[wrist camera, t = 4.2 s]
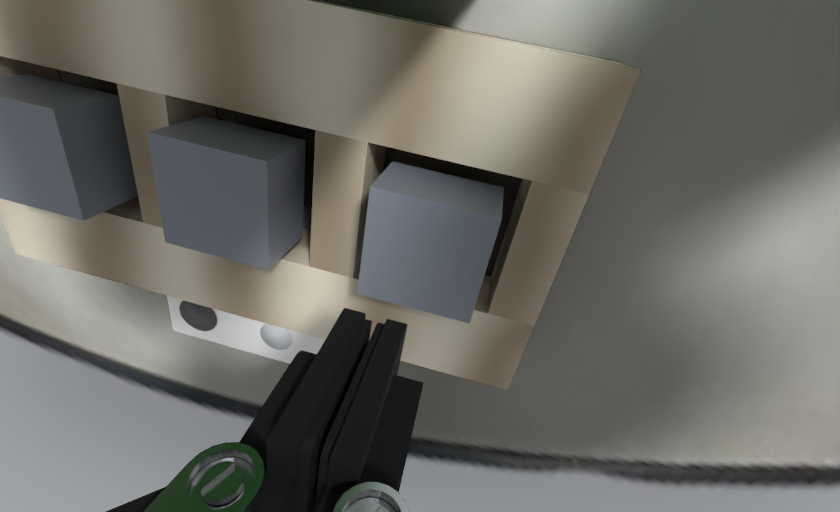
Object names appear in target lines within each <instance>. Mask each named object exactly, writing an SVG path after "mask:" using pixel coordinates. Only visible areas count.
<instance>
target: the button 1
mask: <svg viewBox="0 0 840 512" xmlns="http://www.w3.org/2000/svg"><path fill="white" fill-rule="evenodd" d="M135 197H138V193H137V187H136V182H135V177H134V172H133V166H132V161H131V156H130V151H129V146H128V140H127V135H126V130H125V125H124V120H123V114H122V109H121V104H120V99H119V96H117V95H113V94H109V93H105V92H101V91H96V90H92V89H88V88H84V87H80V86H75V85H71V84H67V83H63V82H59V81H54V80H50V79H46V78H42V77H37V76H33V75H29V74H26V75H16V76H5V77H0V199H4V200H8V201H12V202H15V203H19V204H23V205H27V206H30V207H34V208H38V209H42V210H45V211H49V212H53V213H57V214H60V215H64V216H68V217H72V218H75V219H79V220H83V221H84V220H87V219H89V218H91V217H93V216H95V215H98V214H100V213H102V212H104V211H107V210H109V209H111V208H113V207H115V206H118V205H120V204H122V203H124V202H126V201H129V200H131V199H133V198H135Z"/></svg>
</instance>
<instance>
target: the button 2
mask: <svg viewBox="0 0 840 512" xmlns="http://www.w3.org/2000/svg"><path fill="white" fill-rule="evenodd" d="M503 192H504V187H500V186H496V185H492V184H488V183H484V182H479V181H475V180H471V179H467V178H463V177H458V176H454V175H450V174H446V173H442V172H437V171H433V170H429V169H425V168H420V167H416V166H412V165H408V164H404V163H399V162H395V161H392V163H391V164H390V165H389V166H388V167H387V168H386V169H385V170H384V171H383V173H382V174H381V175H380V176H379V177H378V178H377V179H376V180H375V181H374V183H373V184H372V185H371V186H370V191H369V199H368V207H367V216H366V224H365V232H364V241H363V249H362V258H361V266H360V274H359V283H358V291H357V294H360V295H364V296H368V297H372V298H375V299H379V300H383V301H387V302H390V303H394V304H398V305H402V306H405V307H409V308H413V309H417V310H420V311H424V312H428V313H432V314H435V315H439V316H443V317H447V318H450V319H454V320H458V321H462V322H465V323H469V324H470V321H471V318H472V314H473V311H474V308H475V305H476V301H477V298H478V295H479V292H480V288H481V285H482V282H483V279H484V275H485V272H486V269H487V266H488V263H489V259H490V256H491V253H492V250H493V246H494V243H495V240H496V237H497V233H498V230H499V227H500V224H501V220H502V210H503Z"/></svg>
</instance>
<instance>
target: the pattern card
mask: <svg viewBox="0 0 840 512" xmlns="http://www.w3.org/2000/svg"><path fill="white" fill-rule="evenodd" d="M167 300H168V305H169V311H170V317H171V322H172V328H173V331H176V332H180V333H183V334H187V335H190V336H194V337H197V338H201V339H204V340H208V341H211V342H215V343H218V344H222V345H225V346H229V347H232V348H236V349H239V350H243V351H246V352H250V353H253V354H257V355H260V356H264V357H267V358H271V359H274V360H278V361H281V362H285V363H288V364H290V363H291V362H292V360H293V359H294V357H295V356H296V355H297V353H298V352H299V351H301V350H302V351H306V352H310V353H314V354H317V353H318V352H319V350H320V348H321V347H322V345H323V343H324V341H325V340H324V339H321V338H317V337H313V336H310V335H306V334H303V333H299V332H295V331H292V330H288V329H285V328H281V327H277V326H274V325H270V324H267V323H263V322H259V321H256V320H252V319H249V318H245V317H241V316H238V315H234V314H231V313H227V312H223V311H220V310H216V309H213V308H209V307H205V306H202V305H198V304H195V303H191V302H188V301H184V300H180V299H177V298H173V297H170V296H167Z"/></svg>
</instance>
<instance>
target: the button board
mask: <svg viewBox="0 0 840 512" xmlns="http://www.w3.org/2000/svg"><path fill="white" fill-rule="evenodd" d="M57 69H58V70H62V71H67V72H71V73H75V74H79V75H84V76H88V77H92V78H96V79H101V80H105V81H109V82H113V83H117V88H118V94H119V99H120V104H121V109H122V114H123V120H124V125H125V130H126V135H127V140H128V146H129V151H130V156H131V161H132V166H133V172H134V177H135V182H136V187H137V193H138V197H135V198H133V199H131V200H129V201H126V202H124V203H122V204H120V205H118V206H115V207H113V208H111V209H109V210H107V211H104V212H102V213H100V214H98V215H95V216H93V217H91V218H89V219H87V220H84V221H83V220H79V219H75V218H72V217H68V216H64V215H60V214H57V213H53V212H49V211H45V210H42V209H38V208H34V207H30V206H27V205H23V204H19V203H15V202H12V201H8V200H4V199H0V213H1V216H2V219H3V221H4V224H5V226H6V229H7V231H8V234H9V237H10V239H11V242H12V244H13V247H14V249H15V252H16V254H18V255H22V256H26V257H29V258H33V259H36V260H40V261H44V262H47V263H51V264H54V265H58V266H62V267H65V268H69V269H72V270H76V271H80V272H83V273H87V274H90V275H94V276H98V277H101V278H105V279H108V280H112V281H116V282H119V283H123V284H126V285H130V286H134V287H137V288H141V289H144V290H148V291H152V292H155V293H159V294H162V295H166V296H170V297H173V298H177V299H180V300H184V301H188V302H191V303H195V304H198V305H202V306H205V307H209V308H213V309H216V310H220V311H223V312H227V313H231V314H234V315H238V316H241V317H245V318H249V319H252V320H256V321H259V322H263V323H267V324H270V325H274V326H277V327H281V328H285V329H288V330H292V331H295V332H299V333H303V334H306V335H310V336H313V337H317V338H321V339H324V340H326V338H327V336H328V335H329V333H330V331H331V329H332V328H333V326H334V324H335V323H336V321H337V319H338V317H339V316H340V314H341V312H342V311H343V309H344V308H347V309H351V310H355V311H359V312H363V313H365V314H366V318H365V319H367V320H371V321H372V326H371V332H370V338H371V336H372V333H373V331H374V329H375V327H376V324H377V323H378V322H379V323H383V324H385V322H386V320H387V319H390V320H394V321H398V322H402V323H406V324H407V330H406V335H405V340H404V345H403V349H402V354H401V359H400V361H403V362H407V363H410V364H414V365H418V366H421V367H425V368H428V369H432V370H436V371H439V372H443V373H446V374H450V375H454V376H457V377H461V378H464V379H468V380H472V381H475V382H479V383H482V384H486V385H490V386H493V387H497V388H500V389H504V390H508V389H509V386H510V384H511V381H512V379H513V377H514V374H515V372H516V369H517V367H518V365H519V362H520V360H521V357H522V355H523V353H524V350H525V348H526V345H527V343H528V341H529V338H530V336H531V333H532V331H533V329H534V326H535V324H536V321H537V319H538V317H539V314H540V312H541V309H542V307H543V305H544V302H545V300H546V297H547V295H548V293H549V290H550V288H551V285H552V283H553V281H554V278H555V276H556V273H557V271H558V269H559V266H560V264H561V261H562V259H563V257H564V254H565V252H566V249H567V247H568V245H569V242H570V240H571V237H572V235H573V233H574V230H575V228H576V225H577V223H578V221H579V218H580V216H581V213H582V211H583V209H584V206H585V204H586V201H587V199H588V197H589V194H590V192H591V189H592V187H593V185H594V182H595V180H596V177H597V175H598V173H599V170H600V168H601V165H602V163H603V161H604V158H605V156H606V153H607V151H608V149H609V146H610V144H611V141H612V139H613V137H614V134H615V132H616V129H617V127H618V125H619V122H620V120H621V117H622V115H623V113H624V110H625V108H626V105H627V103H628V101H629V98H630V96H631V93H632V91H633V89H634V86H635V84H636V81H637V79H638V77H639V74H640V72H641V70H640V69H637V68H634V67H631V66H628V65H625V64H622V63H619V62H615V61H610V60H605V59H600V58H595V57H591V56H586V55H581V54H576V53H571V52H567V51H562V50H557V49H552V48H547V47H542V46H538V45H533V44H528V43H523V42H518V41H514V40H509V39H504V38H499V37H494V36H490V35H485V34H480V33H475V32H470V31H465V30H461V29H456V28H451V27H446V26H441V25H437V24H432V23H427V22H422V21H417V20H413V19H408V18H403V17H398V16H393V15H388V14H384V13H379V12H374V11H369V10H364V9H360V8H355V7H350V6H345V5H340V4H336V3H331V2H326V1H321V0H0V77H5V76H16V75H26V74H29V75H33V76H37V77H42V78H46V79H50V80H54V81H59V82H60V78H59V75H58V71H57ZM216 107H220V108H224V109H228V110H232V111H237V112H241V113H245V114H249V115H254V116H258V117H262V118H267V119H271V120H275V121H279V122H284V123H288V124H292V125H296V126H301V127H305V128H309V129H313V130H315V150H314V173H313V196H312V219H311V231H310V230H307V229H303V237H302V238H301V239H300V240H299V241H298V242H297V243H296V244H295V245H294V246H293V247H292V248H291V249H290V250H289V251H288V252H287V253H286V254H285V255H284V256H283V257H282V258H281V259H280V260H279V261H278V262H277V263H276V264H275V265H274V266H273V267H272V268H271V269H270V270H267V269H263V268H259V267H255V266H252V265H248V264H244V263H240V262H237V261H233V260H229V259H225V258H222V257H218V256H214V255H210V254H207V253H203V252H199V251H195V250H192V249H188V248H184V247H180V246H177V245H173V244H169V243H165V238H164V232H163V226H162V220H161V214H160V208H159V202H158V196H157V190H156V184H155V178H154V172H153V165H152V159H151V153H150V147H149V141H148V135H147V132H149V131H153V130H156V129H160V128H163V127H167V126H170V125H174V124H177V123H181V122H184V121H188V120H191V119H195V118H198V117H201V116H206V117H210V118H214V119H217V113H216ZM386 147H390V148H394V149H398V150H403V151H407V152H411V153H415V154H420V155H424V156H428V157H432V158H437V159H441V160H445V161H449V162H454V163H458V164H462V165H467V166H471V167H475V168H479V169H484V170H488V171H492V172H496V173H501V174H505V175H509V176H513V177H518V178H522V182H521V185H520V188H519V191H518V194H517V197H516V200H515V203H514V207H513V210H512V213H511V216H510V219H509V222H508V225H507V228H506V232H505V235H504V238H503V241H502V244H501V247H500V250H499V254H498V257H497V260H496V263H495V266H494V269H493V272H492V275H491V277H490V276H486V275H484V279H483V282H482V285H481V288H480V292H479V295H478V298H477V301H476V305H475V308H474V311H473V314H472V318H471V321H470V324H469V323H465V322H462V321H458V320H454V319H450V318H447V317H443V316H439V315H435V314H432V313H428V312H424V311H420V310H417V309H413V308H409V307H405V306H402V305H398V304H394V303H390V302H387V301H383V300H379V299H375V298H372V297H368V296H364V295H360V294H357V291H358V283H359V274H360V266H361V258H362V249H363V241H364V232H365V224H366V216H367V207H368V199H369V191H370V186H371V185H372V184H373V183H374V181H375V180H376V179H377V178H378V177H379V176H380V175H381V174H382V173H383V168H384V161H385V153H386ZM369 340H370V339H369Z"/></svg>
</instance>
